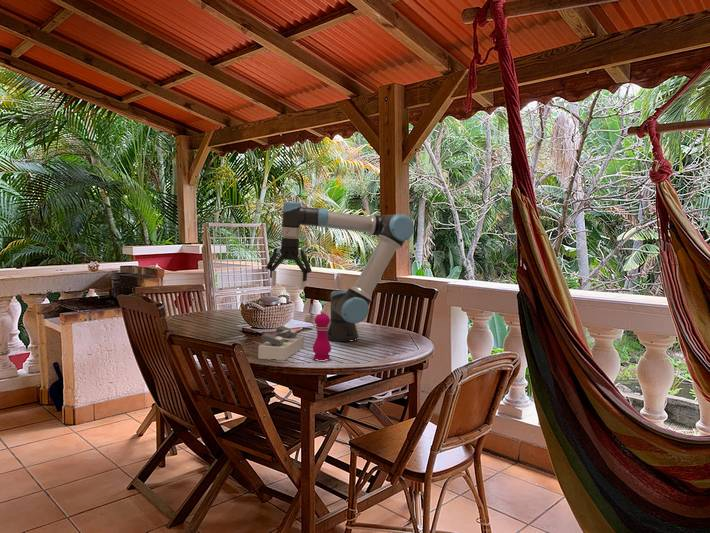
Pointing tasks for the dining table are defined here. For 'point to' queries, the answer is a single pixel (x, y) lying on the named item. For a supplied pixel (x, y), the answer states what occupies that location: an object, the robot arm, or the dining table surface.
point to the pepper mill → (322, 337)
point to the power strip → (281, 348)
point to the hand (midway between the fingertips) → (287, 287)
